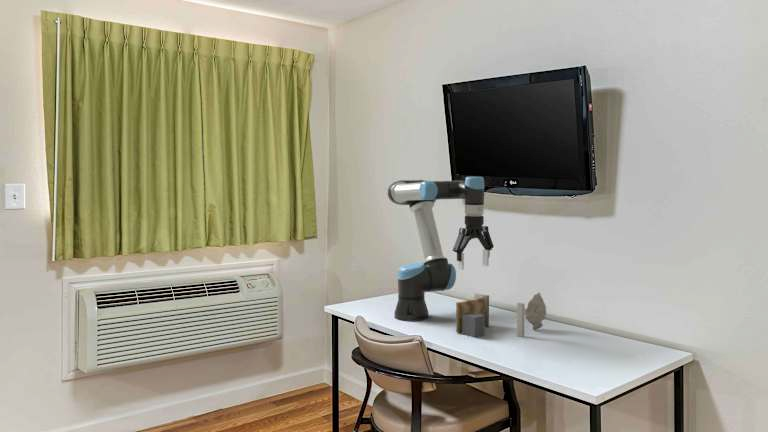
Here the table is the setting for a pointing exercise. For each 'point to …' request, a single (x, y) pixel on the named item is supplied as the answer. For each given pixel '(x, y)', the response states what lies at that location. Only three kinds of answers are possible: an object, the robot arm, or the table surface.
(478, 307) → the door
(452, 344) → the table surface
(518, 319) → the door frame
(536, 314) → the stone tool
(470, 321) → the block
